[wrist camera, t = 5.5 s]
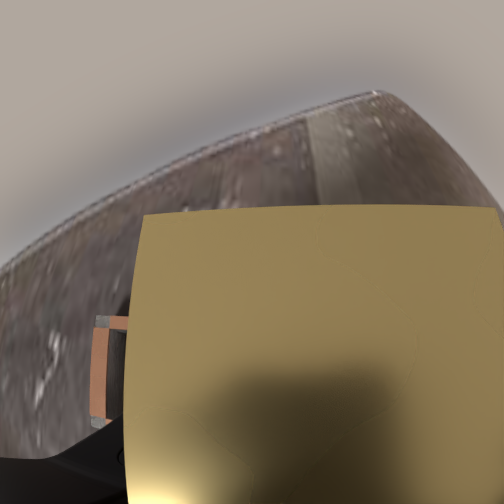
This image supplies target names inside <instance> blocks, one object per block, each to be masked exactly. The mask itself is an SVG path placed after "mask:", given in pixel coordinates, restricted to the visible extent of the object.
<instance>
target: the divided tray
mask: <svg viewBox="0 0 504 504" xmlns="http://www.w3.org/2000/svg"><path fill="white" fill-rule="evenodd" d="M128 318H129V317H126V316H100V315H97V316H96V325H95V327H94V331H93V342H92V355H91V372H90V415H91V424H92V427H95V428H99V429H101V428H102V427H104V426H105V425H107V424H108V423H110V422H111V421H112V420H114V419H115V418H116V417H118V416H119V415H120V414H122V413H123V372H124V352H125V337H126V335H127V328H128Z"/></svg>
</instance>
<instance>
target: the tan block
mask: <svg viewBox="0 0 504 504" xmlns="http://www.w3.org/2000/svg"><path fill="white" fill-rule="evenodd" d="M123 421H124V455H125V471H126V483H127V494H128V503H129V504H504V231H503V228H502V225H501V222H500V219H499V217H498V214H497V211H496V209H495V208H491V207H471V206H445V205H386V204H369V205H307V206H278V207H255V208H236V209H219V210H203V211H189V212H176V213H164V214H152V215H144V219H143V224H142V229H141V234H140V240H139V245H138V251H137V257H136V264H135V270H134V277H133V284H132V292H131V300H130V308H129V318H128V328H127V339H126V353H125V371H124V406H123Z"/></svg>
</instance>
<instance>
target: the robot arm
mask: <svg viewBox="0 0 504 504" xmlns="http://www.w3.org/2000/svg"><path fill="white" fill-rule="evenodd" d="M0 504H129V503H128V494H127V483H126V471H125V455H124V421H123V413H122V414H120V415H119V416H118V417H116V418H115V419H114V420H112V421H111V422H110V423H108V424H107V425H105V426H104V427H102V428H101V429H99V430H98V431H96V432H95V433H93V434H91V435H90V436H88V437H87V438H85V439H83V440H82V441H80V442H78V443H77V444H75V445H73V446H72V447H70V448H68V449H67V450H65V451H63V452H61V453H60V454H58V455H55V456H52V457H49V458H45V459H17V458H3V457H0Z"/></svg>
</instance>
